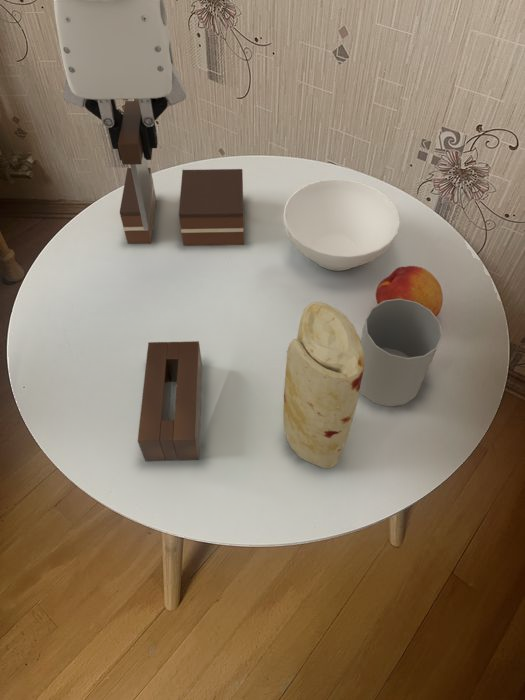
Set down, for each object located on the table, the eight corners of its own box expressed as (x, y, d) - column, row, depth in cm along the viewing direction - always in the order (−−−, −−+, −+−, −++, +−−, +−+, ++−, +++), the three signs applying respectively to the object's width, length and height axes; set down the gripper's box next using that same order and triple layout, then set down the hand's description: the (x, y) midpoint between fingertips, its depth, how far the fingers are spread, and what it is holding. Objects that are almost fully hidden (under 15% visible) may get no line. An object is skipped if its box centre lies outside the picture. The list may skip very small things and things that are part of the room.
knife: (137, 233, 67) (117, 144, 58) (142, 189, 72) (125, 100, 62) (154, 232, 67) (137, 143, 58) (158, 189, 72) (143, 100, 62)
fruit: (399, 283, 80) (412, 241, 73) (446, 316, 76) (464, 275, 70) (362, 312, 76) (372, 271, 70) (409, 348, 73) (424, 308, 66)
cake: (183, 245, 84) (178, 214, 79) (186, 201, 90) (182, 169, 85) (244, 244, 84) (243, 213, 79) (243, 200, 90) (242, 168, 85)
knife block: (145, 461, 64) (137, 441, 59) (154, 365, 71) (148, 342, 67) (198, 460, 64) (194, 439, 60) (202, 364, 71) (198, 341, 67)
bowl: (259, 254, 83) (259, 217, 77) (326, 202, 90) (331, 164, 84) (346, 311, 76) (353, 275, 71) (411, 250, 84) (423, 212, 78)
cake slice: (127, 243, 84) (119, 212, 79) (134, 199, 90) (127, 167, 85) (151, 243, 84) (144, 211, 79) (156, 199, 90) (150, 167, 85)
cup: (424, 358, 72) (445, 308, 64) (417, 413, 67) (438, 366, 59) (359, 344, 73) (371, 292, 65) (347, 396, 69) (359, 348, 61)
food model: (355, 465, 63) (389, 364, 47) (300, 483, 62) (315, 386, 46) (322, 395, 69) (342, 282, 53) (270, 410, 67) (274, 300, 51)
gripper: (195, -54, 51) (208, 132, 65) (14, -53, 50) (69, 134, 65) (193, -18, 46) (208, 172, 61) (-5, -17, 46) (59, 175, 60)
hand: (136, 151), depth 63 cm, fingers closed on knife, 2 cm apart
